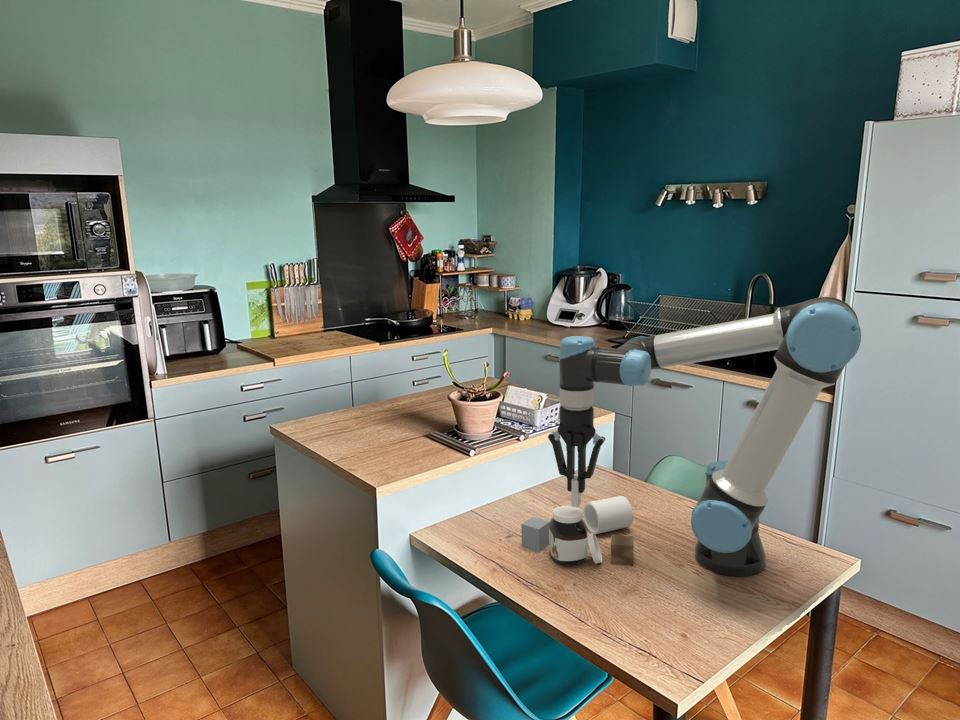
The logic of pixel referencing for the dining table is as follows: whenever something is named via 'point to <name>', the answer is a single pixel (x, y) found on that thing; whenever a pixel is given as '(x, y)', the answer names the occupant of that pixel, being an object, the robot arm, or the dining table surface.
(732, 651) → the dining table surface
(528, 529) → the slate block
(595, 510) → the mug
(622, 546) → the walnut block
